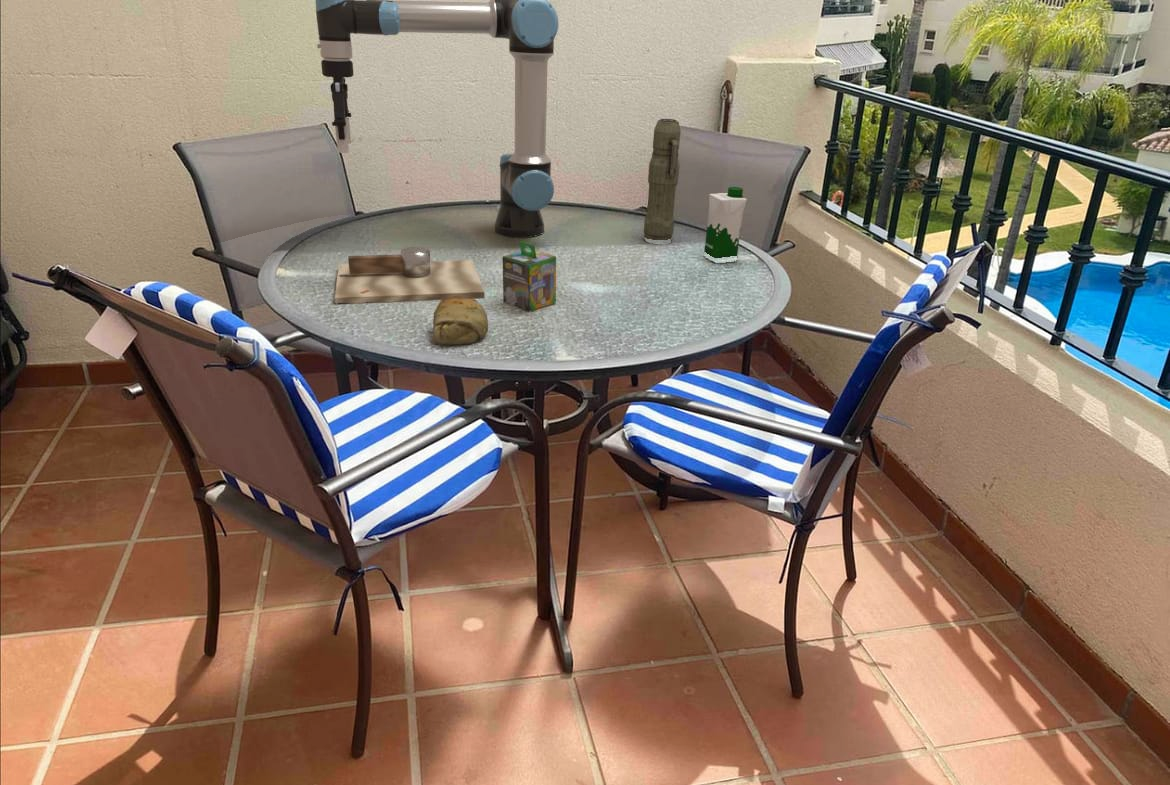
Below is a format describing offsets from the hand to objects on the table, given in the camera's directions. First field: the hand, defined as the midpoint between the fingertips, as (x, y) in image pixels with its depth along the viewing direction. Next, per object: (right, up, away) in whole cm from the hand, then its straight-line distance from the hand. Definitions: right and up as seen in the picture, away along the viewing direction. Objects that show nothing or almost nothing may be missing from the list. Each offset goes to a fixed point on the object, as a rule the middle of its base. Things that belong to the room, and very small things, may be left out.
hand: (344, 147), depth 204 cm
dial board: (+19, -37, -10) cm, 43 cm away
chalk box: (+49, -43, -19) cm, 68 cm away
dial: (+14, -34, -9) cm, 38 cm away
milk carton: (+101, -26, +19) cm, 106 cm away
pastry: (+36, -52, -37) cm, 73 cm away
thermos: (+85, -18, +34) cm, 93 cm away
